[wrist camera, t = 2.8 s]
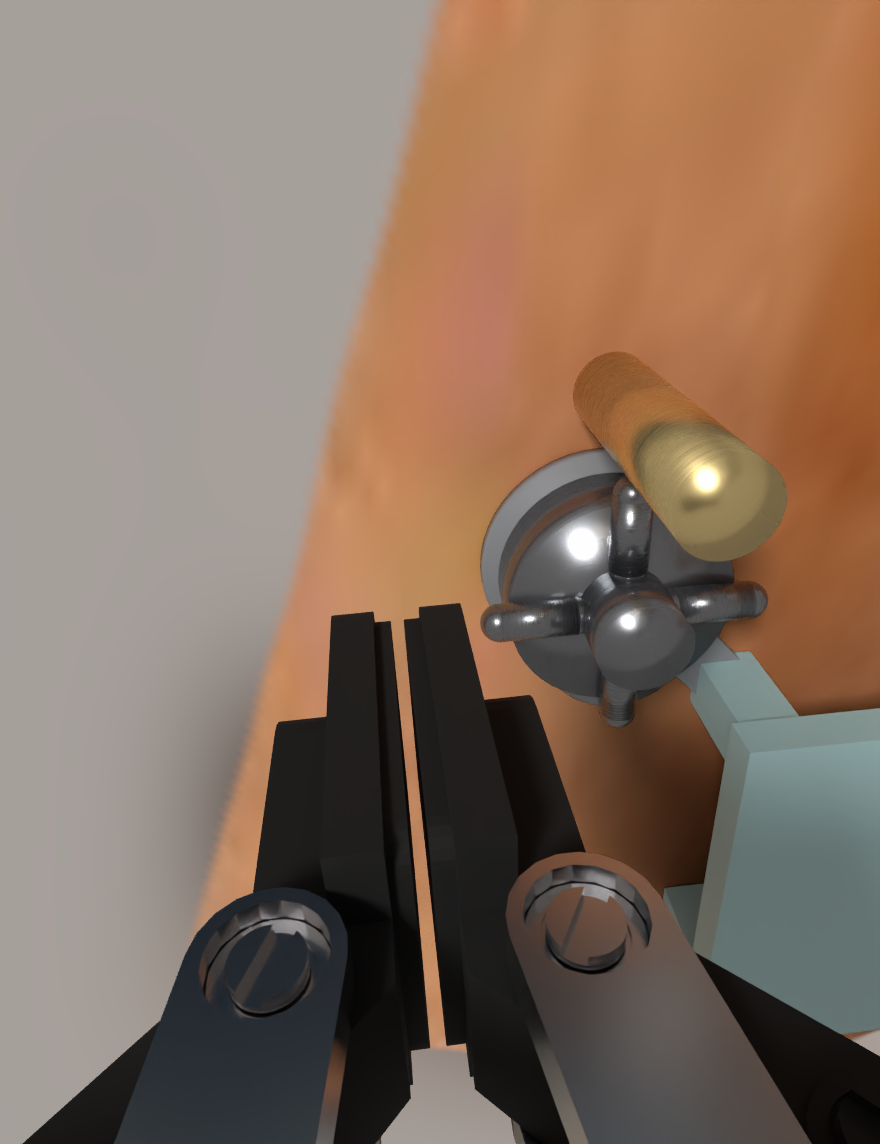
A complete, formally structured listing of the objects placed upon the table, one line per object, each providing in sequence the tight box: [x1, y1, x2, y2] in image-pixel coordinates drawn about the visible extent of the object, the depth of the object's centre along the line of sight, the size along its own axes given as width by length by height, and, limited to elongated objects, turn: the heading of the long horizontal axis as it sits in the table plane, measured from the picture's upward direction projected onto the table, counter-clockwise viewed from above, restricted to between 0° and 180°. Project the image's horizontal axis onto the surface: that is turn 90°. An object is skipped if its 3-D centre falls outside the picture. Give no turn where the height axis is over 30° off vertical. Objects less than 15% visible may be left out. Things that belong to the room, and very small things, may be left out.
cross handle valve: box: [480, 352, 787, 728], centre depth 18 cm, size 10×8×7 cm
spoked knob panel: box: [480, 448, 880, 1034], centre depth 25 cm, size 22×18×5 cm
